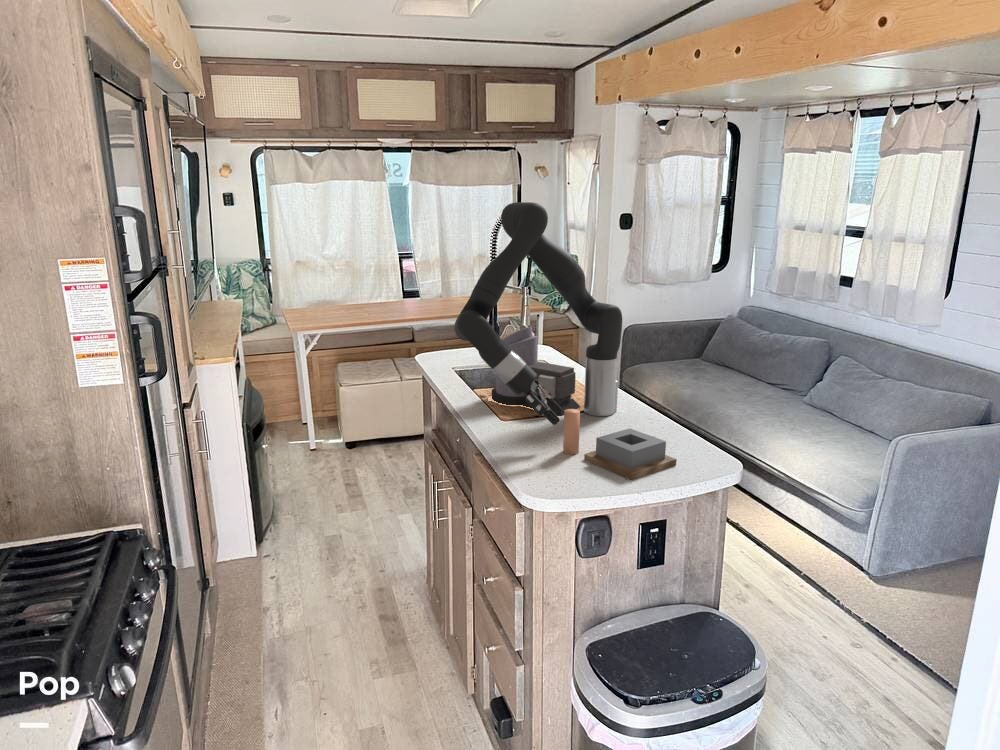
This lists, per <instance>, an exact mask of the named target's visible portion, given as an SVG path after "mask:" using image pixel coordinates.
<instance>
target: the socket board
mask: <svg viewBox="0 0 1000 750" xmlns="http://www.w3.org/2000/svg"><path fill="white" fill-rule="evenodd" d="M583 458H584V461H586V462H588V463H592V464H594V465H596V466H599V467H600V468H603V469H605V470H607V471H610V472H612V473H614V474H617V475H619V476H620V477H621V476H622V477H624V478H626V479H628V480H631V481H632V480H635V479H636V480H637V479H638V478H641V477H645V476H647V475H650V474H654V473H655V472H659V471H662V470H665V469H668V468H671V467H673V466H676V465H677V458H675V457H672V456H670V455H667V454H665V459H662V460H659V461H656V462H653V463H649V464H646V465H643V466H640V467H637V468H634V469H629V468H627V467H624V466H622V465H620V464H617V463H615V462H612V461H610V460H608V459H605V458H603V457H600V456H598V455H596V450H594V451H590V452H587V453H584V457H583Z"/></svg>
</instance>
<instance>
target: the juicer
mask: <svg viewBox="0 0 1000 750" xmlns="http://www.w3.org/2000/svg"><path fill="white" fill-rule="evenodd" d="M502 340H503V341H504V342H505V343H506V344H507V345H508V346H509V347H510V348H511V349H512V350H513V351H514V352H515V353H516V354H517V355H519V356H520V357H521V358H522V359H523V360H524V361H525V362H526V363H527V365H528V366H529V367H530V368H531V369H532V370H533V371H534V372H535V373H536V374H537V378H536V379H537V380H538V381H539V382H540V383H541V384H542V385H543V386H544V387H545V388H546V389H547V390H548V391H549V392H550V393H551V394H552V395H551V396H552V398H553V399H552V400H554V401H555V402H556V403H557V404H558V405H559V406H560V407H561V408H562V411H561V412H560V413H559V414H558V415H557V416H558V417H564V411H565V410H566V409H577V410H579V409H580V408H582V407H581V405H580V404H579V403H578V402H577V401H576V400H575V399H574V398H573V396H572V395H573V394H575V393H576V375H577V374H576V372H575V368H574V367H572V366H565V365H560V364H554V363H548V362H543V361H538V358H539V357H538V356H539V355H538V349H539V346H538V344H539V337H538V336H537V335H534V336H533V327H532V326H526V327H525V328H524V327H523V328H521V329H519V330H517V331H514V332H512V333H511V334H509V335H507V336H505V337H504V338H503V339H502ZM536 379H535V380H536ZM535 380H534V381H535ZM491 395H492V399H493V400H494V401H496V402H498V403H502V404H506V405H523V406H526V407H530V408H532V407H531V406H530V405H529V404H528V403H527V402H526V401H525V399H524V398H526V397H527V396H526V395H525V393H524V392H522V393H521V394H519V395H516V394H515V393H514V392H513V391H512V390H511V389H510V388H509V387H508V386H507V385H506V384H505V383H504V382H503V381H502V380H501V379H500V378H499V377H498V376H497V375H496V374H495V387H494V388H493V389H491ZM541 409H542V407H541Z"/></svg>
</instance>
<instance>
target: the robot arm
mask: <svg viewBox="0 0 1000 750" xmlns="http://www.w3.org/2000/svg"><path fill="white" fill-rule="evenodd" d="M548 215H549V214H548V212H547V210H546V208H545V207H544V206H543V205H542V204H541V203H537V202H524V201H523V202H521V201H519V202H517V201H515V202H511V203H509V204H507V205H506V206H504V208H503V209H502V212H501V216H500V221H501V225H502V228H503V230H504V231H505V233H506V234H507V236H509V238H510V239H511V240H510V241H509V243H508V244H507V245H506V247H504V249H503V250H502V251H501V252H500V253H499V254H498V255H497V256H496V257H495V258H494V259H493V260H491V262H490V263H489V264H487V266H486V267H485V269H484V270H483V271H482V273H481V274H480V276H479V278H478V280H477V282H476V284H475V285H474V287H473V290H472V292H471V294H470V295H469V296H470V297H469V298H468V300H467V302H466V303H465V304H464V307H462V310H461V311H460V313H459V315H458V316H457V318H456V320H455V322H454V326H453V327H454V328H453V329H454V333H455V335H456V337H457V338H458V339H460V340H461V341H465V342H469V343H470V344H471V345H472V346H473V347H474V348H475V349H476V351H478V355H479V356H480V359H482V360H483V361H484V362H485V364H486V365H487V366H488V367H489V368H490V369H491V370H493V372H494V373H495V376H496V375H497V376H498V377H499V378H500V379H501V380H502V381H503V382H504V383H505V384H506V385H507V386H508V387H509V388H510V389H511V390H512V391H513V392H514V393H515V394H516V395H519V394H521V393H522V392H524V393H525V395H526V396H527V397H526V398H524V399H525V401H526V402H527V403H528V404H529V405H530V406H531V407H532V408H533V409H534V410H533V411H535V412H536V414H537V415H538V416H539V417H545V418H546V419H547V420H548V421H549V422H550V424H552V425H553V426H556V425H558V424H559V422H561V421H560V420H561V418H560V416H558V414H559V413H560V412H561V411H562V408H561V407H560V406H559V405H558V404H557V403H556V402H555V401H554V400H552V399H553V398H552V396H551V395H552V394H551V393H550V392H549V391H548V390H547V389H546V388H545V387H544V386H543V385H542V384H541V383H540V382H539V381H538V380H537V379H536V378H537V374H536V373H535V372H534V371H533V370H532V369H531V368H530V367H529V366H528V365H527V363H526V362H525V361H524V360H523V359H522V358H521V357H520V356H519V355H517V354H516V353H515V352H514V351H513V350H512V349H511V348H510V347H509V346H508V345H507V344H506V343H505V342H504V341H503V339H502V338H501V337H500V336H499V335H498V333H497V332H496V331H495V329H494V328H493V327H492V326H491V324H490V323H489V322H488V321H487V320H488V317H489V316H490V314H491V312H492V310H494V308H495V307H496V306H497V305H498V302H499V301H500V300H501V299H500V298H501V297H502V295H503V294H504V291H505V289H506V287H507V285H508V284H509V282H510V280H511V278H512V277H513V276H514V273H515V272H516V271H517V269H518V268H519V267H520V265H521V264H522V262H523V261H524V260H525V259H526V258H527V256H529V258H530V259H531V260H532V261H533V263H534V264H535V265H536V266H537V268H538V269H539V270H540V271H541V272H542V274H544V276H545V277H546V279H547V280H548V282H549V283H550V284H551V285H552V286H553V288H554V289H556V291H557V292H558V293H559V294H560V295H561V297H562V298H563V299H564V300H565V302H566V303H567V304H568V305H569V306H570V308H571V309H572V310H573V313H574V314H575V316H576V317H577V319H578V321H579V322H580V324H581V325H582V327H584V329H585V330H586V331H588V332H590V333H591V334H592V333H593V334H596V335H598V336H597V341H596V343H595V344H590V345H589V346H587V347H586V350H585V351H586V352H585V370H584V371H585V374H584V398H583V399H584V401H583V412H584V413H585V414H587V415H589V416H597V417H606V416H612V415H613V414H615V412H617V410H618V393H619V391H618V389H619V381H618V380H617V367H618V366H617V364H618V363H617V362H618V353H619V350H620V347H621V343H622V342H621V341H622V340H621V339H622V330H623V315H622V314H623V312H622V311H621V308H620V307H619V306H617V305H615V304H610V303H609V304H608V303H604V302H600V301H598V300H596V299H595V298H594V297H593V296H592V295H591V294H590V292H589V291H588V290H587V287H586V275H585V273H584V270H583V269H582V267H581V265H580V264H579V263H578V262H577V260H576V259H575V258H574V256H573V255H572V254H571V253H570V252H569V251H567V250H566V249H565V248H563V247H562V246H561V245H559V244H558V243H556V242H554V241H553V240H552V239H550V238H549V237H548V236H547V235H545V234H544V232H545V231H546V229H547V226H548V222H549V220H548V219H549V216H548ZM535 379H536V380H535ZM534 380H535V381H534ZM541 407H542V409H541Z"/></svg>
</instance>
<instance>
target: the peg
mask: <svg viewBox="0 0 1000 750" xmlns="http://www.w3.org/2000/svg"><path fill="white" fill-rule="evenodd" d="M580 422H581V411H580V409H566V410H565V411H564V415H563V445H562V446H563V447H562V452H563V454H566V455H573V456H574V455H577V454H579V452H580V449H579V448H580V429H581V428H580Z"/></svg>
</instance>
